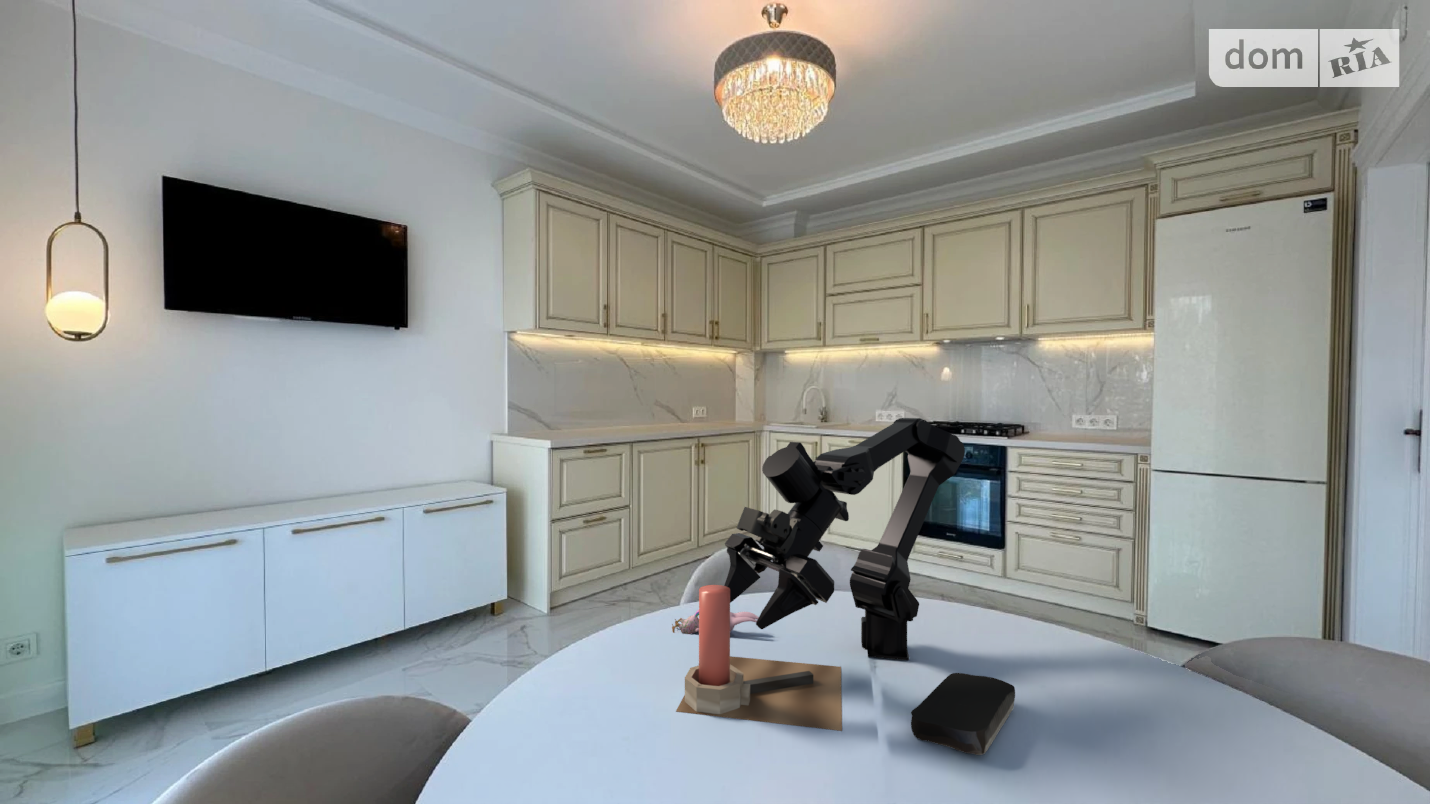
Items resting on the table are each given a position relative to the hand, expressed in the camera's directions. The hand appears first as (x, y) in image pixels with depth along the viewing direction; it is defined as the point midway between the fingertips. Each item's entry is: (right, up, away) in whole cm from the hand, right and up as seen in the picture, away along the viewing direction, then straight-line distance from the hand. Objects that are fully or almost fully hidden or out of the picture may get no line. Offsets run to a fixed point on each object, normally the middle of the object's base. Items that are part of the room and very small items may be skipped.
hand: (738, 615), depth 76 cm
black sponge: (+28, -12, -5) cm, 30 cm away
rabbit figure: (-3, -12, +23) cm, 26 cm away
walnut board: (+4, -11, +1) cm, 12 cm away
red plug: (-3, -10, -2) cm, 11 cm away
